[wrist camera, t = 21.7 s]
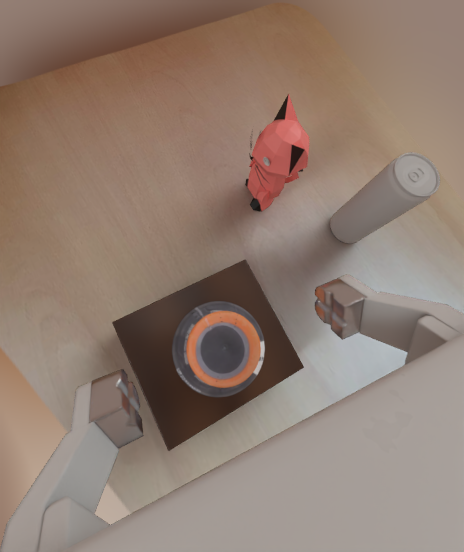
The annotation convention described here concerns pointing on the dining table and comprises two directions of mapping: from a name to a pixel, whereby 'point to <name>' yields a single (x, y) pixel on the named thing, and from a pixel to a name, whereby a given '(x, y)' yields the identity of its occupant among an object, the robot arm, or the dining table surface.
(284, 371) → the shelf
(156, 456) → the dining table surface
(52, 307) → the dining table surface
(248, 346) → the pill bottle
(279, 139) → the cat figurine
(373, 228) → the beverage can
